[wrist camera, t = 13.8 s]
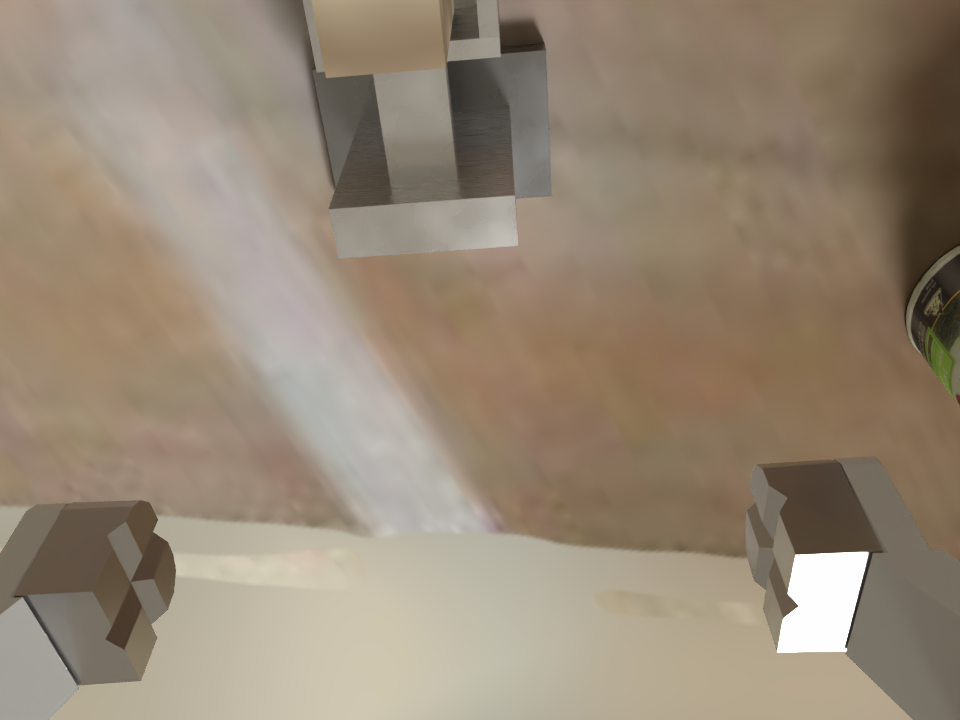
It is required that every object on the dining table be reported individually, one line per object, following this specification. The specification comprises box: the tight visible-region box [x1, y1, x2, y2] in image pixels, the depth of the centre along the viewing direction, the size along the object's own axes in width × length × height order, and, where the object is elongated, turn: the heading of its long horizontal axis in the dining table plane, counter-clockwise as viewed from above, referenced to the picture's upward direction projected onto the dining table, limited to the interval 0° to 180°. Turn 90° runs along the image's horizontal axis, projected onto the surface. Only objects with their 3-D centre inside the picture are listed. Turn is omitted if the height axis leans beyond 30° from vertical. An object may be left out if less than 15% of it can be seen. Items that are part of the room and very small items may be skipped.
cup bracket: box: [303, 0, 552, 258], centre depth 39 cm, size 18×12×12 cm, turn 5°
